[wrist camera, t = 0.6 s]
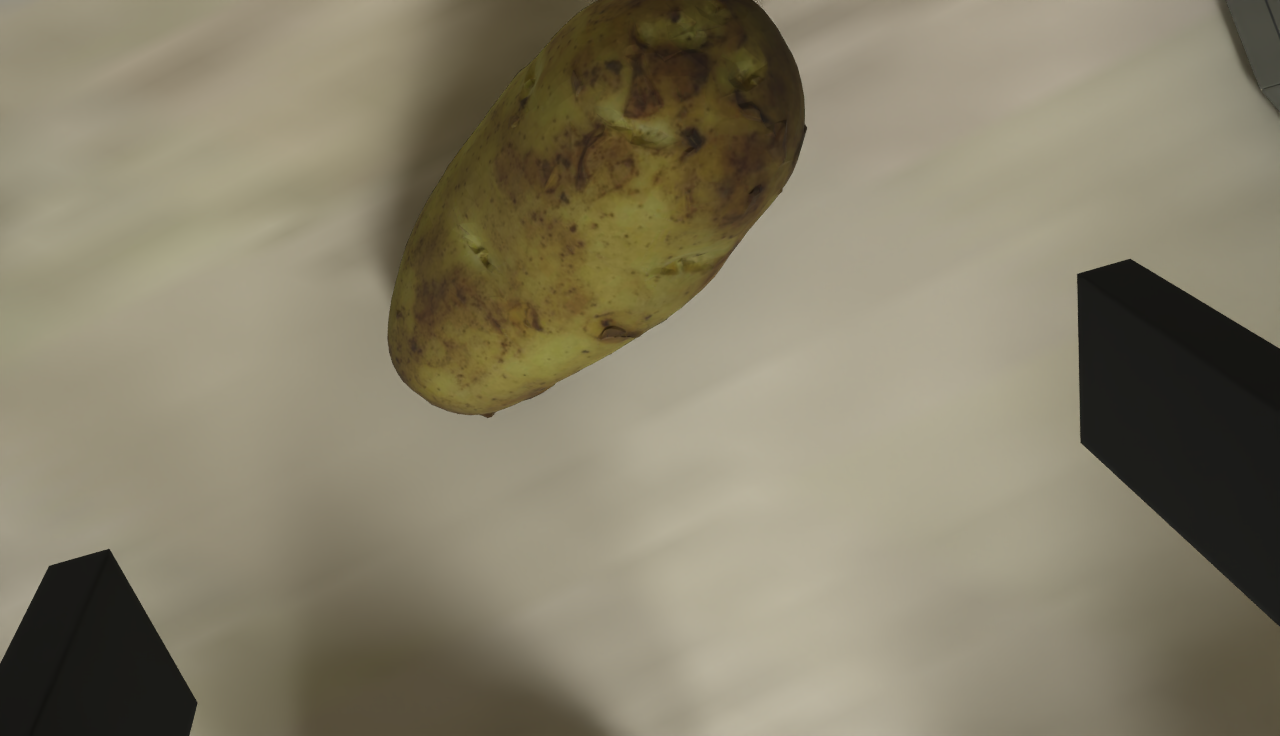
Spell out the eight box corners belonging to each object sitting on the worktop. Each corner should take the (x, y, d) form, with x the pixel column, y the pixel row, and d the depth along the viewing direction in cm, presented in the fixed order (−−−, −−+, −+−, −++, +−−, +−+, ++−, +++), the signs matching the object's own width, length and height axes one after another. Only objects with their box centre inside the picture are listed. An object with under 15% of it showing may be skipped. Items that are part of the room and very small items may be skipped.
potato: (344, 171, 32) (206, 150, 24) (743, -21, 30) (734, -112, 22) (459, 425, 33) (360, 485, 25) (858, 253, 31) (889, 260, 23)
